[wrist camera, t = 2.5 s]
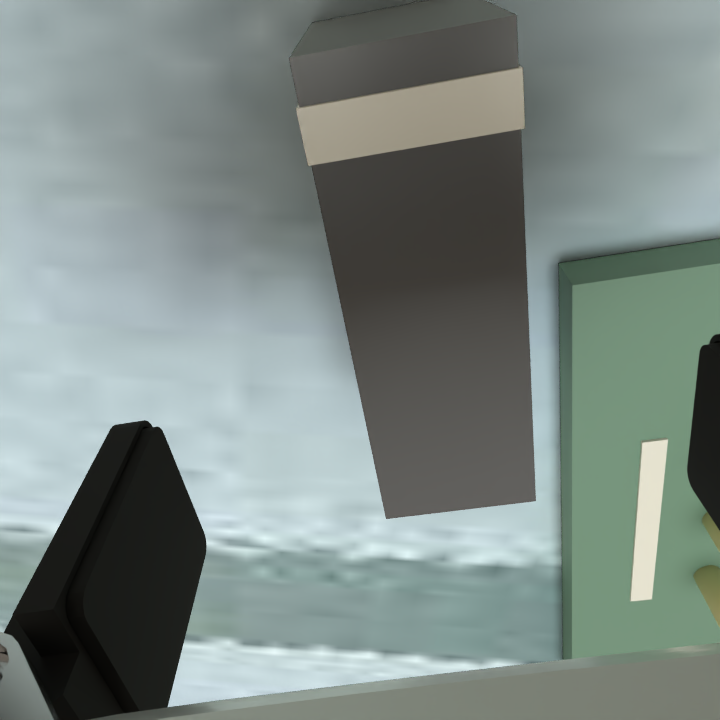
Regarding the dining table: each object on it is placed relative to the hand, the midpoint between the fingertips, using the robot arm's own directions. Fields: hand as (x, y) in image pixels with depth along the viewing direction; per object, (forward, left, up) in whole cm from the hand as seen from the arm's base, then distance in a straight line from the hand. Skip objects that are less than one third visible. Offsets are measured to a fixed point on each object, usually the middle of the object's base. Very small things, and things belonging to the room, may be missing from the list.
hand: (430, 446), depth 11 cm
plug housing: (-1, 0, -9) cm, 9 cm away
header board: (+11, +9, -9) cm, 17 cm away
